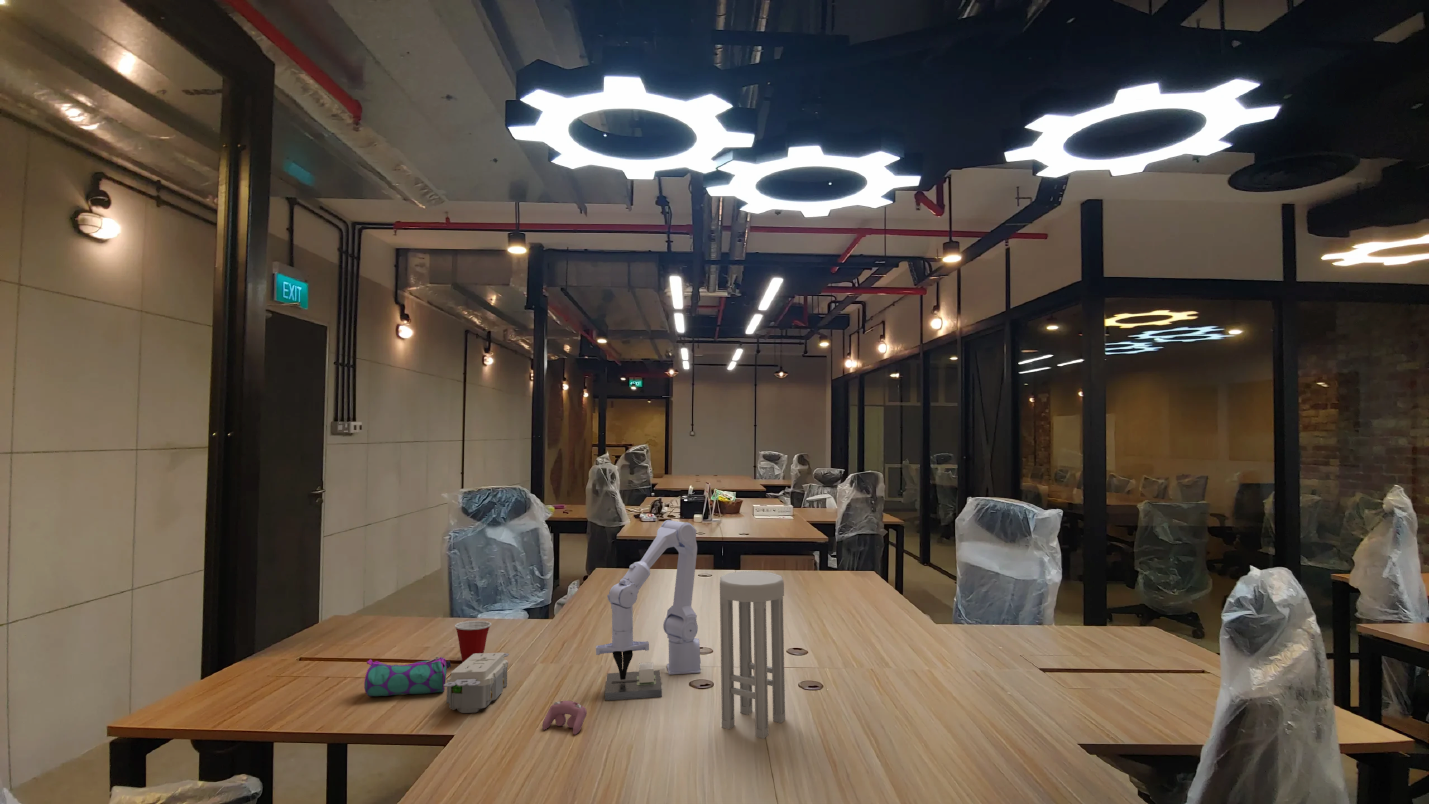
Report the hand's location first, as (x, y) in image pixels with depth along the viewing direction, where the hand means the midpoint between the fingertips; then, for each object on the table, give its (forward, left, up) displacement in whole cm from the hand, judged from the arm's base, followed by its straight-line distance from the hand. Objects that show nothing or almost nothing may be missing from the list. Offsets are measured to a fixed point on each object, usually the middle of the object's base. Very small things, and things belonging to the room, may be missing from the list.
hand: (622, 678), depth 175 cm
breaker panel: (-3, 0, -3) cm, 4 cm away
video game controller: (+13, +21, -3) cm, 25 cm away
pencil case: (+59, -7, -3) cm, 59 cm away
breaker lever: (-6, 0, 0) cm, 7 cm away
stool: (-32, +26, -3) cm, 41 cm away
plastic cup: (+47, -29, -3) cm, 55 cm away
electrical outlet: (+38, 0, -3) cm, 39 cm away
